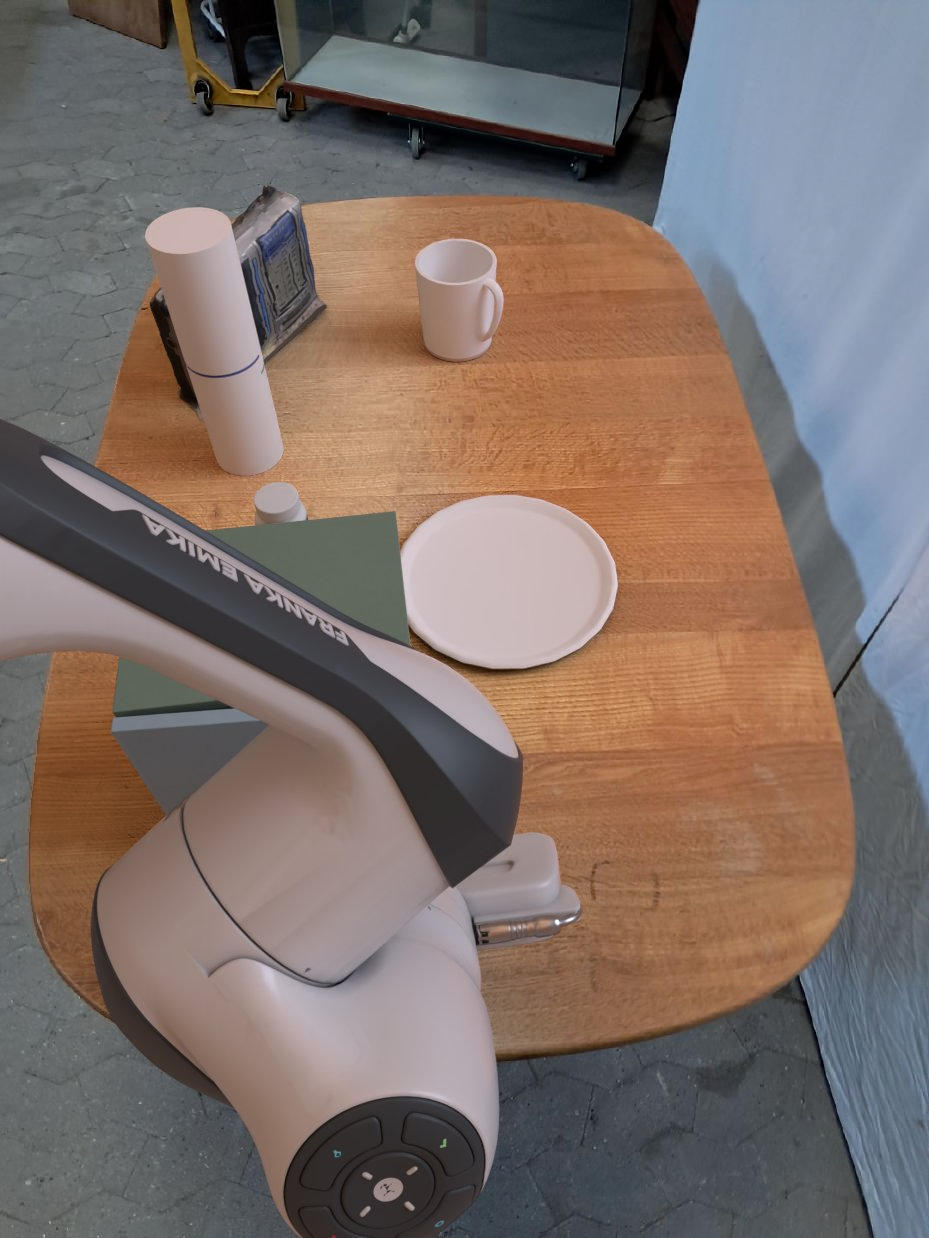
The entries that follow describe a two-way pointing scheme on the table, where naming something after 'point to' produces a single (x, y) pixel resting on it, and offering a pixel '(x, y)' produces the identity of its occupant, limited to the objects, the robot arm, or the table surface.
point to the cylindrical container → (217, 336)
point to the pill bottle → (278, 504)
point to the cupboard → (314, 561)
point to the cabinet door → (183, 748)
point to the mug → (458, 298)
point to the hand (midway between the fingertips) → (389, 845)
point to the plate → (507, 582)
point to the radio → (260, 281)
